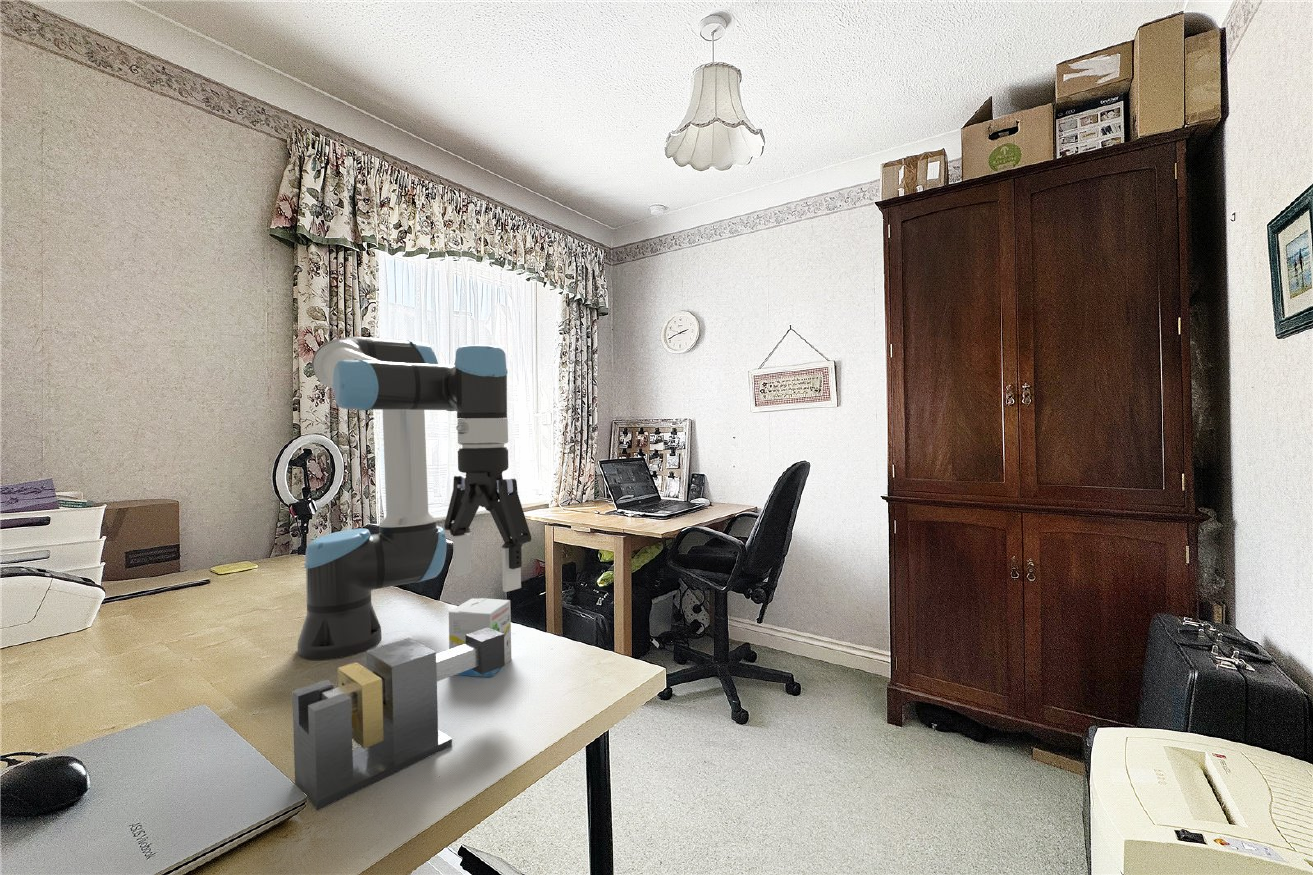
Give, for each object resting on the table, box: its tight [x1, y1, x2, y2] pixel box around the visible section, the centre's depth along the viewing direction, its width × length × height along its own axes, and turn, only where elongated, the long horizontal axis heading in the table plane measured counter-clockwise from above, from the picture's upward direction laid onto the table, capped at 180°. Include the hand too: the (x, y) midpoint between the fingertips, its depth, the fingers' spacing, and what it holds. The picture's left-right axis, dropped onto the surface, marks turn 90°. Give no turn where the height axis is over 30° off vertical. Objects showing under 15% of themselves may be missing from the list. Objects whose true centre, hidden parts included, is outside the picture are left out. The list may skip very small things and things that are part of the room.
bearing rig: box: [291, 637, 453, 811], centre depth 74 cm, size 8×17×14 cm, turn 139°
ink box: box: [448, 597, 512, 678], centre depth 104 cm, size 9×8×12 cm
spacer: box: [337, 661, 383, 749], centre depth 72 cm, size 8×2×8 cm, turn 49°
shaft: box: [322, 628, 506, 714], centre depth 79 cm, size 4×24×5 cm, turn 139°
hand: (486, 582), depth 86 cm, fingers open, 13 cm apart
